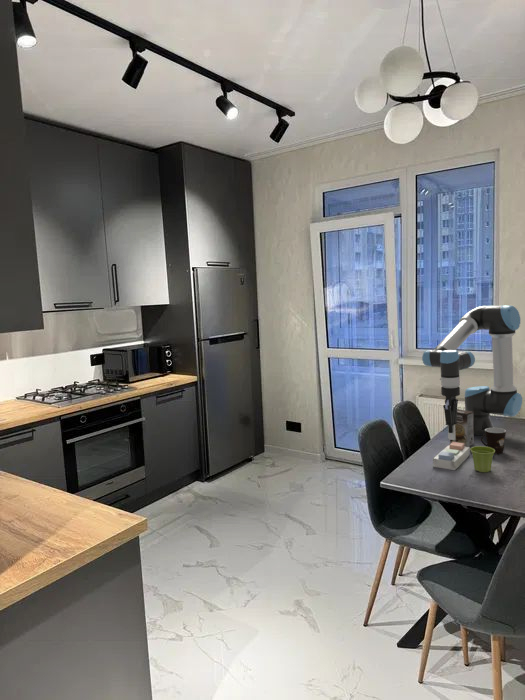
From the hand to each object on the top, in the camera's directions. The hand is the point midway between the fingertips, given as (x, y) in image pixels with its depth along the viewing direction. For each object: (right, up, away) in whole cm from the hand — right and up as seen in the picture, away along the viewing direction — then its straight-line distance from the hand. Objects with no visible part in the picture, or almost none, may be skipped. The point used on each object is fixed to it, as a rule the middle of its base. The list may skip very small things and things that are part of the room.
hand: (451, 439), depth 221 cm
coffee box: (+13, -6, +22) cm, 27 cm away
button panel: (0, -9, +1) cm, 10 cm away
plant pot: (+8, -11, -12) cm, 18 cm away
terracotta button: (+5, -6, +7) cm, 10 cm away
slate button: (-4, -8, -5) cm, 11 cm away
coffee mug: (+21, -7, +9) cm, 24 cm away
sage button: (0, -8, +1) cm, 8 cm away
